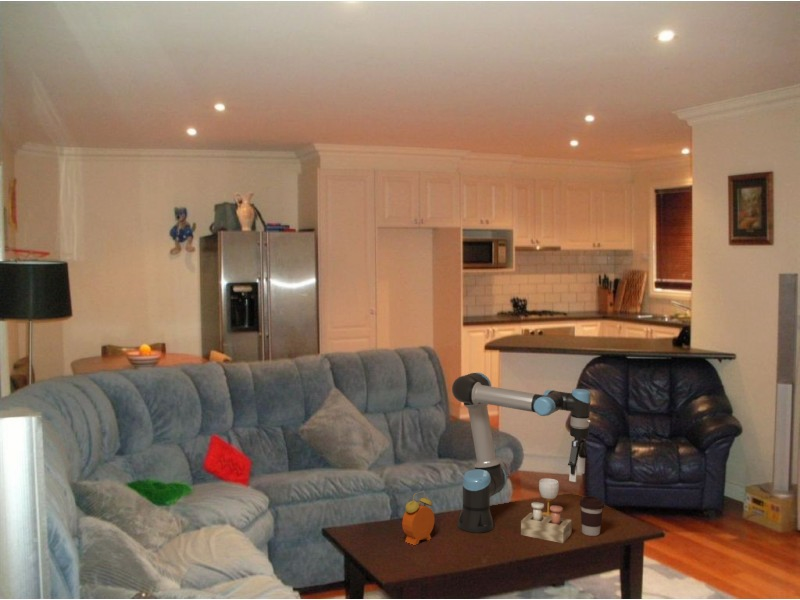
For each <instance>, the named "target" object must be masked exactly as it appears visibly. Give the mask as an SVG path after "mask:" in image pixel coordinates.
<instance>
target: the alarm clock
mask: <svg viewBox="0 0 800 600" xmlns="http://www.w3.org/2000/svg"><path fill="white" fill-rule="evenodd" d="M420 493H423V495H424V496H423V497H421V498H420V499H419V500H418V502H417V501H416V500H415V496H413V498H412V499H413V500H411V501H408V502H407V503H406V504H405V512H404V514H403V516H402V522H401V524H402V525H401V526H402V531H403V533H405V535H406V537H405V542H404V543H406V542H407V543H406V544H408V543H410V544H409V545H411V544H413V545H416V544H418V545H419V543H420V541H421V540H425V541H427V540H429V541H431V540H430V539H432V537H431V533H432V531H433V529H434V525H435V520H436V519H435V513H434V510H433V509H432V508H430V507H433V502H432V501H431V500H430V499H429V497H426V494H425V493H426V492H425V490H423V491H421V492H420V491H418V492H416V493H415V495H417V494H420ZM429 506H430V507H429ZM413 545H412V546H413ZM416 546H417V545H416Z"/></svg>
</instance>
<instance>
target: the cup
mask: <svg viewBox="0 0 800 600" xmlns="http://www.w3.org/2000/svg"><path fill="white" fill-rule="evenodd" d="M559 489H560V483H559V481H558V480H557V479H554V478H545V477H544V478H541V479H539V482H538V491H539V494H540V496H541V498H543V500H545V501H547V504H546V505H547V508H546V509H547V510H546V512H545V511H542V515H548V516H552V512H550V501H554V499H555V498H557V496H558V494H559V493H558V492H559Z"/></svg>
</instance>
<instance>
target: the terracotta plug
mask: <svg viewBox="0 0 800 600" xmlns="http://www.w3.org/2000/svg"><path fill="white" fill-rule="evenodd" d="M563 510H564V507H562V506H561V505H558V504H557V505H556V504H555V505H549V512H551V513H552V519H551V523H552V524H557V525H560V518H561V515H562V512H563Z"/></svg>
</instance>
